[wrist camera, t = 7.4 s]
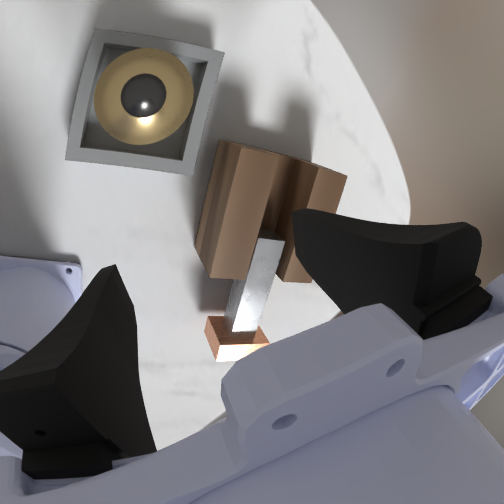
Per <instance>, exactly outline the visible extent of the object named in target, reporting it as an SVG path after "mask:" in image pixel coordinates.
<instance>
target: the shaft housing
mask: <svg viewBox="0 0 504 504" xmlns="http://www.w3.org/2000/svg"><path fill="white" fill-rule="evenodd" d="M346 179H347V176H346V175H344V174H341V173H339V172H336V171H333V170H331V169H328V168H326V167H323V166H320V165H317V164H315V163H312V162H308V161H305V160H301V159H298V158H294V157H291V156H287V155H283V154H279V153H275V152H271V151H268V150H264V149H259V148H255V147H251V146H247V145H243V144H238V143H234V142H229V141H225V140H220V139H219V142H218V146H217V150H216V154H215V158H214V162H213V166H212V170H211V175H210V179H209V183H208V187H207V192H206V196H205V201H204V205H203V209H202V214H201V219H200V223H199V228H198V233H197V237H196V242H195V249H196V251H197V253H198V255H199V257H200V259H201V261H202V263H203V265H204V267H205V270H206V272H207V274H208V276H209V278H220V279H238V280H245V279H246V276H247V272H248V269H249V265H250V262H251V258H252V254H253V251H254V247H255V244H256V240H257V237H258V233H259V229H267V230H273V231H274V232H275V233H277V234H278V235H279V236H280V237H281V238H282V239H283V240H284V241H285V244H284V248H283V251H282V254H281V257H280V260H279V263H278V267H277V270H276V275H277V276H278V277H279V278H280V279H281V280H282V281H283V282H298V283H311V282H312V277H311V276H310V275H309V274H308V273H307V272H306V270H305V269H304V267H303V266H302V264H301V263H300V261H299V260H298V258H297V257H296V255H295V245H294V234H293V224H292V214H291V212H293V211H296V210H300V209H304V208H309V209H315V210H320V211H325V212H329V213H333V214H336V211H337V207H338V204H339V201H340V198H341V195H342V192H343V189H344V186H345V182H346Z"/></svg>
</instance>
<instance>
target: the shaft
mask: <svg viewBox="0 0 504 504" xmlns="http://www.w3.org/2000/svg"><path fill="white" fill-rule="evenodd" d="M284 244H285V241H284V240H283V239H282V238H281V237H280V236H279V235H278V234H277V233H275V232H274V231H273V230H267V229H259V233H258V237H257V240H256V244H255V247H254V251H253V254H252V258H251V262H250V265H249V269H248V272H247V276H246V279H245V280H238V279H233V283H232V287H231V291H230V295H229V299H228V302H227V306H226V310H225V314H224V316H208V317H207V322H206V326H205V331H204V332H205V335H206V337H207V340H208V342H209V345H210V347H211V350H212V352H213V355H214V357H215V360H216V361H234V360H239V359H241V358H243V357H244V356H246V355H248V354H250V353H252V352H253V351H255V350H257V349H259V348H261V347H264V346H266V345H269V344H270V343H269V341H268V339H267V338H266V336H265V335H264V333H263V331H262V330H261V328H260V327H259V322H260V319H261V316H262V313H263V310H264V307H265V304H266V301H267V298H268V295H269V292H270V288H271V285H272V282H273V279H274V276H275V273H276V270H277V267H278V263H279V260H280V257H281V254H282V251H283V248H284Z"/></svg>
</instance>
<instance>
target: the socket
mask: <svg viewBox="0 0 504 504" xmlns="http://www.w3.org/2000/svg"><path fill="white" fill-rule="evenodd" d="M141 48H155V49H160V50H164V51H166V52H169V53H170V54H172V55H174V56H175V57H177V58H178V59H179V60H180V61H181V62H182V63H183V64H184V65H185V66H186V68H187V69H188V71H189V73H190V75H191V78H192V82H193V88H194V98H193V103H192V107H191V110H190V112H189V114H188V116H187V118H186V119H185V121H184V122H183V124H182V125H181V126H180V127H179V128H178V129H177V130H176V131H175V132H174V133H172V134H171V135H170V136H168V137H166V138H165V139H162V140H160V141H158V142H155V143H151V144H145V145H133V144H128V143H124V142H121V141H119V140H117V139H115V138H114V137H112V136H111V135H109V134H108V133H107V132H106V131H105V130H104V128H103V127H102V126H101V124H100V123H99V121H98V119H97V116H96V113H95V110H94V92H95V88H96V84H97V82H98V80H99V77H100V76H101V74H102V72H103V71H104V70H105V69H106V67H107V66H108V65H109V64H110V63H111V62H112V61H114V60H115V59H116V58H117V57H119V56H121V55H123V54H124V53H127V52H129V51H132V50H136V49H141ZM224 54H225V53H224V52H221V51H217V50H213V49H209V48H205V47H201V46H197V45H193V44H189V43H184V42H179V41H175V40H170V39H165V38H159V37H154V36H148V35H141V34H135V33H128V32H120V31H111V30H101V29H95V31H94V34H93V37H92V40H91V44H90V47H89V50H88V53H87V57H86V60H85V64H84V67H83V71H82V75H81V79H80V83H79V87H78V91H77V95H76V100H75V105H74V109H73V114H72V119H71V125H70V131H69V136H68V143H67V149H66V157H65V160H69V161H80V162H90V163H99V164H108V165H117V166H125V167H133V168H140V169H148V170H155V171H162V172H169V173H176V174H182V175H189V176H193V172H194V167H195V163H196V159H197V154H198V150H199V146H200V142H201V138H202V134H203V130H204V126H205V122H206V118H207V114H208V110H209V106H210V103H211V99H212V95H213V92H214V88H215V85H216V81H217V77H218V74H219V71H220V67H221V64H222V60H223V57H224Z"/></svg>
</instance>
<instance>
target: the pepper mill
mask: <svg viewBox="0 0 504 504" xmlns="http://www.w3.org/2000/svg"><path fill="white" fill-rule="evenodd" d="M193 98H194V88H193V82H192V78H191V75H190V73H189V71H188V69H187V68H186V66H185V65H184V64H183V63H182V62H181V61H180V60H179V59H178V58H177V57H175V56H174V55H172V54H170V53H169V52H166V51H164V50H160V49H155V48H141V49H136V50H132V51H129V52H127V53H124V54H123V55H121V56H119V57H117V58H116V59H115V60H114V61H112V62H111V63H110V64H109V65H108V66H107V67H106V69H105V70H104V71H103V72H102V74H101V76H100V77H99V80H98V82H97V84H96V88H95V92H94V110H95V113H96V116H97V119H98V121H99V123H100V124H101V126H102V127H103V128H104V130H105V131H106V132H107V133H108V134H109V135H111V136H112V137H114V138H115V139H117V140H119V141H121V142H124V143H128V144H133V145H145V144H151V143H155V142H158V141H160V140H162V139H165V138H166V137H168V136H170V135H171V134H172V133H174V132H175V131H176V130H177V129H178V128H179V127H180V126H181V125H182V124H183V122H184V121H185V119H186V118H187V116H188V114H189V112H190V110H191V107H192V103H193Z"/></svg>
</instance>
